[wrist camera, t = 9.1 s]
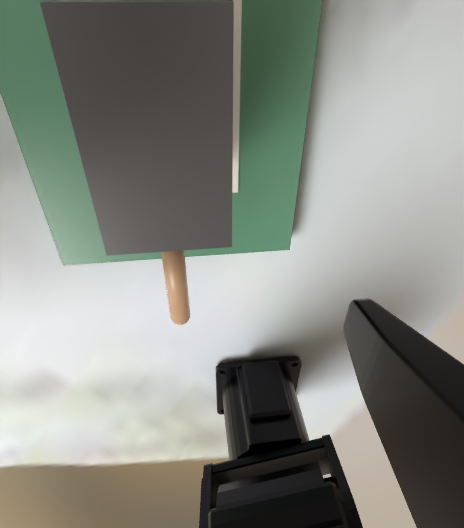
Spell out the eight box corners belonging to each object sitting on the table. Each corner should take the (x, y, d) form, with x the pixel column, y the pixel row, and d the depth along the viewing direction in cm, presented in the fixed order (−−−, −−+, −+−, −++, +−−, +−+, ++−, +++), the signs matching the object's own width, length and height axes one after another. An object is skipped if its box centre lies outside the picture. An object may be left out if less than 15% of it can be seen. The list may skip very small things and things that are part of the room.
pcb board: (285, 239, 21) (304, 285, 18) (67, 253, 19) (47, 306, 16) (338, -206, 11) (405, -281, 8) (-101, -234, 9) (-235, -338, 6)
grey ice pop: (217, 248, 19) (231, 335, 15) (141, 253, 19) (130, 344, 14) (211, -8, 12) (233, 2, 8) (92, -8, 12) (39, 2, 7)
